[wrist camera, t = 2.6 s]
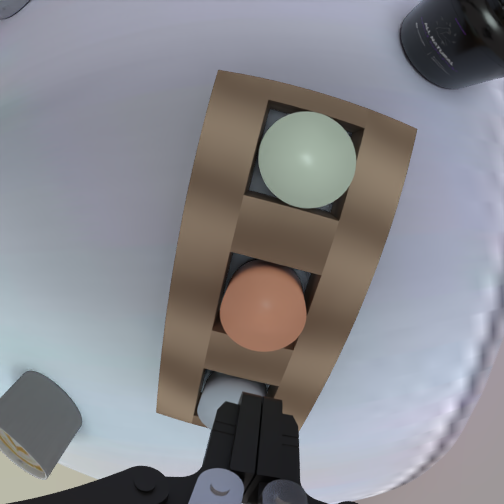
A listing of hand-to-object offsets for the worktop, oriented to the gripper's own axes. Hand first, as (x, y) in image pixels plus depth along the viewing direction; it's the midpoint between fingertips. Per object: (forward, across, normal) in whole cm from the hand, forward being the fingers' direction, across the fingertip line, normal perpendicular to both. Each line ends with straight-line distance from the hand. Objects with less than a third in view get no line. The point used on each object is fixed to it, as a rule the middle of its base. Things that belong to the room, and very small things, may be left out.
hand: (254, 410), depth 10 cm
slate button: (+10, 0, +9) cm, 14 cm away
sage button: (+10, 0, -9) cm, 14 cm away
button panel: (+12, 0, 0) cm, 12 cm away
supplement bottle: (+12, -8, -21) cm, 26 cm away
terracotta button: (+10, 0, 0) cm, 10 cm away
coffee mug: (+12, +23, +25) cm, 36 cm away
